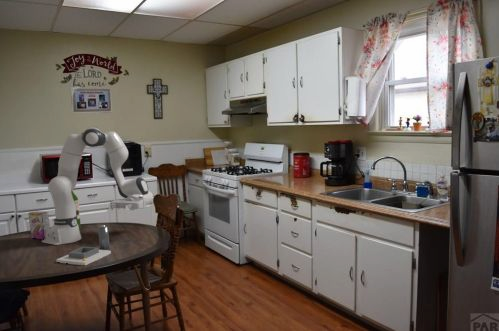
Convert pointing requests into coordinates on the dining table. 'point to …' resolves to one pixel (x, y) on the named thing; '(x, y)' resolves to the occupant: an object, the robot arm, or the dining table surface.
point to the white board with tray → (83, 256)
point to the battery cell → (104, 237)
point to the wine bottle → (76, 208)
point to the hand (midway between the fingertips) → (118, 207)
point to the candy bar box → (38, 224)
